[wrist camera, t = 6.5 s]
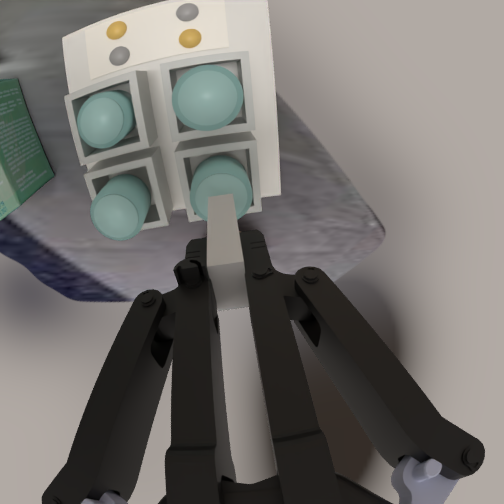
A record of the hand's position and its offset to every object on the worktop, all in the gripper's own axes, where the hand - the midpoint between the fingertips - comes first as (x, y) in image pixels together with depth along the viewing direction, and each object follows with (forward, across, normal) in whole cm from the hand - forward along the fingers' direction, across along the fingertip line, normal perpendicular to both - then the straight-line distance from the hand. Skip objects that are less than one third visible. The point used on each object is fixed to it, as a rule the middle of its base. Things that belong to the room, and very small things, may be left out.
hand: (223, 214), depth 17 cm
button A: (+8, -8, +7) cm, 13 cm away
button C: (+6, 0, +7) cm, 9 cm away
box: (+11, -23, +9) cm, 27 cm away
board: (+11, -4, +7) cm, 13 cm away
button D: (+6, 0, 0) cm, 6 cm away
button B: (+5, -8, 0) cm, 10 cm away
